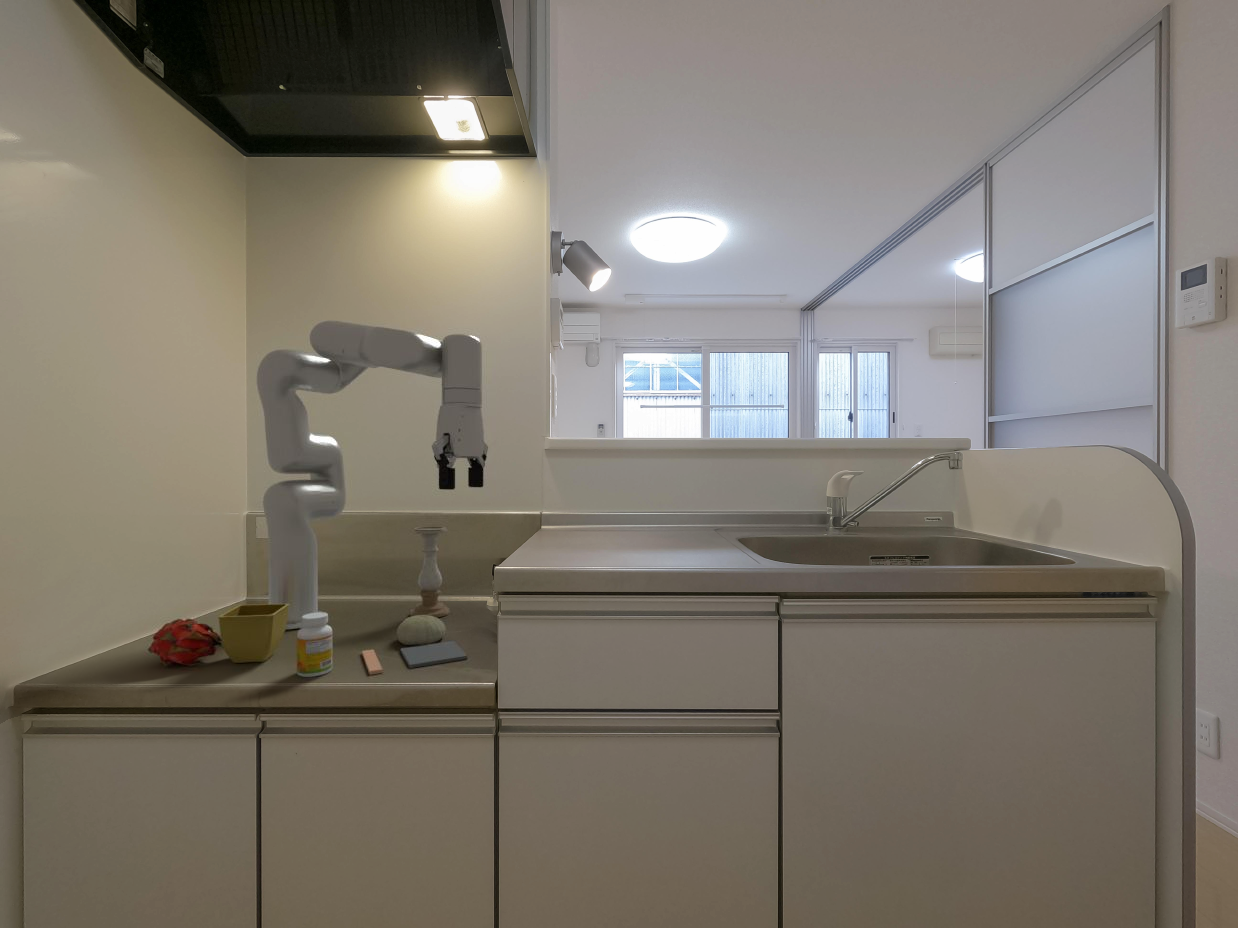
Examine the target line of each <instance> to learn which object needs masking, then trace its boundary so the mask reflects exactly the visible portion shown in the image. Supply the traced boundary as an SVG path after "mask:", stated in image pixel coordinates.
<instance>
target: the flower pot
mask: <svg viewBox="0 0 1238 928" xmlns="http://www.w3.org/2000/svg"><path fill="white" fill-rule="evenodd" d="M288 609H289V604H269V603H260V604H239V605H237V606H235V607H233V608H231V609H229V610H228V611H226V612H225V613H222V614H220V615H219V616H218V622H219V632H220V639H221V646H222V648H223V649H224V651H225V652H224V653H226V655H227V657H228V658H229V659H230V660H231V661H232V662H233V664H234V663H236V664H241V663H262V662H266V660H268V659H269V658H271V657H272V656H273V655H274V654H275V652H277V649H278V648H279V646H280V644H281V643H282V640H283V638H284V635H285V631H286V630H285V629H286V622H287V616H288Z"/></svg>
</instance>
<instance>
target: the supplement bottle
mask: <svg viewBox="0 0 1238 928" xmlns="http://www.w3.org/2000/svg"><path fill="white" fill-rule="evenodd" d="M323 612H324V611H321V612H318V613H310V614H306V615H304V616H302V626H303V628H299V630H298V631H297V634H296V674H297V676H298V677H299V676H300V677H303V678H313V677H318V676H323V675H325V674H328V673H330V672H331V671H332V669H333V629H332V627H331V626H330V625H329V624H328V623H329V622H328V621H329V614H328V612H324V613H323Z"/></svg>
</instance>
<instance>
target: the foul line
mask: <svg viewBox="0 0 1238 928" xmlns="http://www.w3.org/2000/svg"><path fill="white" fill-rule="evenodd" d="M361 655H362V657H363V658H362V659H363V662H364V664H365V666H366V670H367V672H368V674H369V675H377V674H383V667H382V665H381V663H380V661H379V659H378V656H377V654H376V652H375V650H374V648H373V649H366V650H361Z"/></svg>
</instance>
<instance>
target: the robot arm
mask: <svg viewBox="0 0 1238 928" xmlns="http://www.w3.org/2000/svg"><path fill="white" fill-rule="evenodd" d="M480 340H481V339H480V338H478V337H476V336H474V335H471V334H464V333H463V334H462V333H460V334H459V333H457V334H455V333H454V334H453V333H452V334H448V335H446V336H445V337H443V339H441V340H440V339H438V338H433V337H431V336H427V335H424V334H421V333H416V332H412V331H408V330H403V329H395V328H389V327H383V326H373V325H367V324H361V323H360V324H358V323H355V322H353V323H352V322H347V321H339V320H324V321H321V322H318V323H317V324H316V325H314V326H313V328H312V329H311V331H310V333H309V342H310V345H311V348H312V349H313V351H315V353H311V352H306V351H302V350H295V349H285V348H284V349H275V350H272V351H270V352H268V353H267V354H265V356H264V357H263V358H262V360H261V361H260V363H259V365H258V367H257V371H256V372H257V373H256V387H257V391H258V395H259V398H260V399H259V400H260V402H261V406H262V410H263V416H264V418H263V419H264V431H265V441H266V453H267V454H266V455H267V460H268V465H269V467H270V468H271V469H272V470H273V471H274V472H276V473H278V474H283V475H309V476H310V479H289V480H288V479H287V480H282V481H279V482H276V483H273V484H272V485H270V486H269V487H268V488H267V489H266V491H265V492H264V495H263V500H262V507H263V513H264V517H265V520H266V526H267V536H268V543H267V544H268V604H289V609H288V616H287V622H286V629H285V631H286V630H294V629H295V630H296V629H301V628H303V626H302V616H304V615H306V614H310V613H318V612H323V613H325V612H324V611H321V610H319V609H318V606H319V605H318V602H319V601H318V600H319V598H318V593H319V591H318V590H319V585H318V583H319V578H318V575H319V574H318V572H319V571H318V570H319V569H318V568H319V567H318V565H319V563H318V561H319V560H318V554H319V553H318V551H319V550H318V547H319V546H318V540H317V536H316V533H315V532H314V530H313V528H312V527H311V525H310V522H315V521H316V522H317V521H326V520H332V519H335V518H336V517H338V516H340V514H342V512H343V511H344V509H345V505H346V502H347V501H346V499H347V492H346V480H345V469H344V468H345V467H344V466H345V465H344V458H343V452H342V447H341V446H340V444H339V443H338V441H337V440H336V439H335V438H334V437H333V436H331V435H329V434H327V433H324V432H323V433H322V432H311V430H310V425H309V415H308V410H307V408H306V406H305V404H304V402H303V401H302V399H301V398H300V397H299V396H298V394H297V393H296V391H303V392H304V391H305V392H312V393H320V394H329V395H330V394H335V393H338V392H341V391H342V390H344V389H345V388H347V387H348V386H349V385H350V384H351V383H353V381H355V380H356V379H357V378H359V376H360V375H362V374H363V373H364V372H365V371H366V370H367V369H369V368H371V369H377V368H385V369H391V370H397V371H401V372H407V373H411V374H412V373H413V374H417V375H422V376H426V377H431V378H439V379H440V378H441V405H440V406H439V410H438V415H437V421H436V434H435V441H434V442H432V443H431V449H432V451H433V454H434V455H433V457H434V458H433V459H434V460H435V461H436V467H437V468H438V489H439V490H448V491H450V490H455V489H456V467H454V465H455V463H456V461H457V459H466V460H467V462H468V465H469V466H470V467H467V469H468V471H467V472H468V474H467V476H468V478H467V480H468V481H467V483H468V484H467V485H468V487H469V488H483V487H484V468H485V465H486V460H487V457H488V456H487V455H488V451H489V446H488V444H486V443H485V435H484V433H485V432H484V419H483V413H482V408H483V400H482V399H483V393H482V392H483V382H482V381H483V366H482V365H483V349H482V342H481V341H480Z"/></svg>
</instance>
